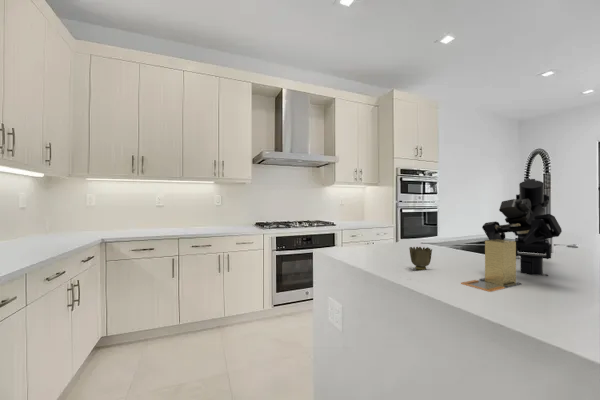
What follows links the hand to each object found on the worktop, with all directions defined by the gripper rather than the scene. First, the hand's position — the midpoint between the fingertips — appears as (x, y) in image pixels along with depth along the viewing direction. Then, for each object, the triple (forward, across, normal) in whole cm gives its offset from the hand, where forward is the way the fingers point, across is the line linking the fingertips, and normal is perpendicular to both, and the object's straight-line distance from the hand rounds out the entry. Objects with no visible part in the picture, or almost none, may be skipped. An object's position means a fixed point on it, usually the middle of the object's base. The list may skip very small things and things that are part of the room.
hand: (506, 243), depth 80 cm
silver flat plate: (+9, -4, +8) cm, 13 cm away
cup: (+9, -27, +3) cm, 29 cm away
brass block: (+5, -4, +10) cm, 12 cm away
